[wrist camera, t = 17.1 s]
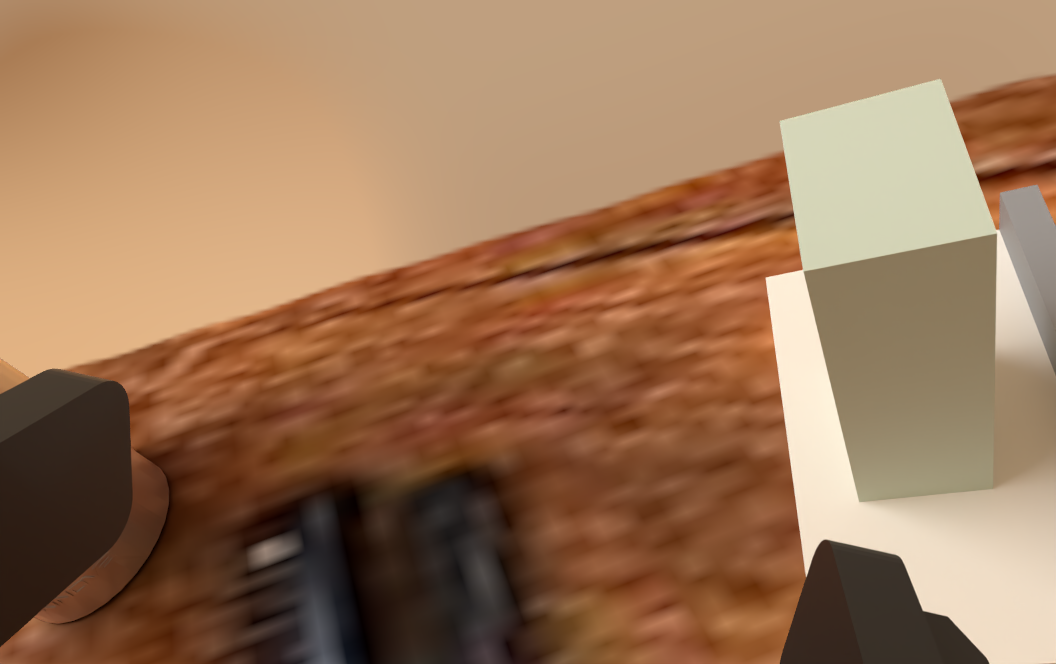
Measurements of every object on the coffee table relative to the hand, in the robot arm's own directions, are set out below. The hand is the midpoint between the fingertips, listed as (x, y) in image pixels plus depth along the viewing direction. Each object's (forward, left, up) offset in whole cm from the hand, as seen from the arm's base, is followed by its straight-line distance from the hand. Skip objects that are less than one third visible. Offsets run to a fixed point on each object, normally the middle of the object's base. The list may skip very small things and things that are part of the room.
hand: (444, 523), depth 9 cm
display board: (-6, +13, -21) cm, 25 cm away
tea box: (-6, +12, -20) cm, 24 cm away
